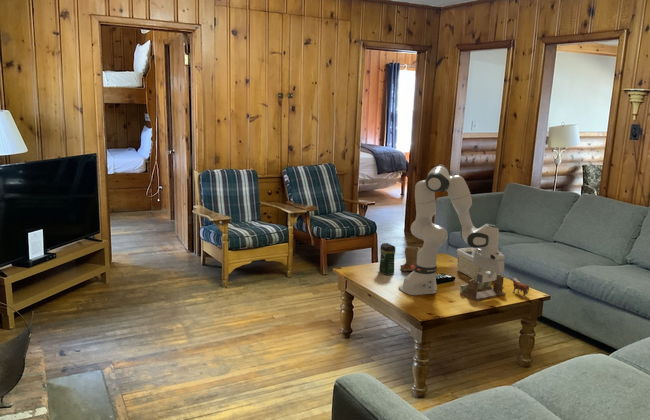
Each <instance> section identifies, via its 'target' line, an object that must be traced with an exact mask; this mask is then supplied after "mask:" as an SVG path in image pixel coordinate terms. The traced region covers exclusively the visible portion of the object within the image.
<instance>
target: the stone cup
mask: <svg viewBox="0 0 650 420" xmlns="http://www.w3.org/2000/svg"><path fill="white" fill-rule="evenodd" d="M420 248H421V247H418V246H406V247H405V250H404V256H405V263H404V264H401V265H400V270H401V271H403V272H408V271H409V272H410V271H412V272H413V271H414V269H412V268H410V267H411V265H413V266H415V265H416V263H417V252H418V250H419V249H420Z"/></svg>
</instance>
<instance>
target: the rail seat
mask: <svg viewBox="0 0 650 420" xmlns="http://www.w3.org/2000/svg"><path fill="white" fill-rule="evenodd" d="M504 277H505V276H503V275H502V273H501V274H498V275H497V280H494V281H489V282H484V283H480V282H478V281H476V280H475V279H473V278H470V279H468V283H466V284H461V285H460V290H459V291H460V292H459V294H460V295H461V296H463V297H465V298H467V299H469V300H471V301H474V302H479V301H483V300H489V299H492V298H497V297H504V296H506V292H504V291H503V288H504V287H503V286H504V279H505V278H504ZM492 282H493V286H492Z"/></svg>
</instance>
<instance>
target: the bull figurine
mask: <svg viewBox="0 0 650 420" xmlns="http://www.w3.org/2000/svg"><path fill="white" fill-rule="evenodd" d="M510 280H511V281H512V283H513V284H512V285H513V291H512V292H514V293H515V291H516V290H517V292H516V293H517V294H520V292H523V295H522V298H525V296H526V295H527V296H528V294H529V290H530V286H529V285H528V284H526V283H523V282H521V281H520V279H517V277H513V278H511V279H510ZM514 293H513V294H514Z"/></svg>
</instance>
